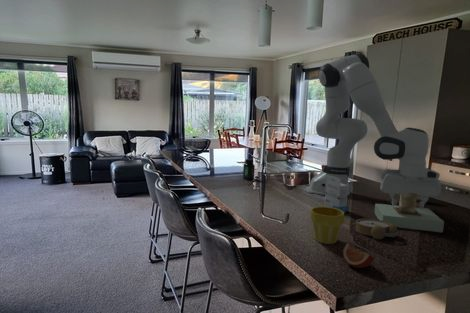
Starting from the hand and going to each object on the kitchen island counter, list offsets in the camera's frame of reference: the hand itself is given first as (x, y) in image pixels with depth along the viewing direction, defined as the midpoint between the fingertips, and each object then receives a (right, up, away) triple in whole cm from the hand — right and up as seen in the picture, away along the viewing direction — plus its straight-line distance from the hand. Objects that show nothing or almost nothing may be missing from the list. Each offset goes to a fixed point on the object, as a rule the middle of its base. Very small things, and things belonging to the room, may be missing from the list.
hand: (407, 205), depth 120 cm
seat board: (0, -6, +1) cm, 6 cm away
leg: (0, -6, +1) cm, 6 cm away
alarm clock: (-18, -8, -12) cm, 23 cm away
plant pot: (-37, -8, -19) cm, 43 cm away
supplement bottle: (-58, +5, +70) cm, 91 cm away
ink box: (-24, -4, +13) cm, 28 cm away
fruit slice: (-33, -11, -36) cm, 50 cm away
